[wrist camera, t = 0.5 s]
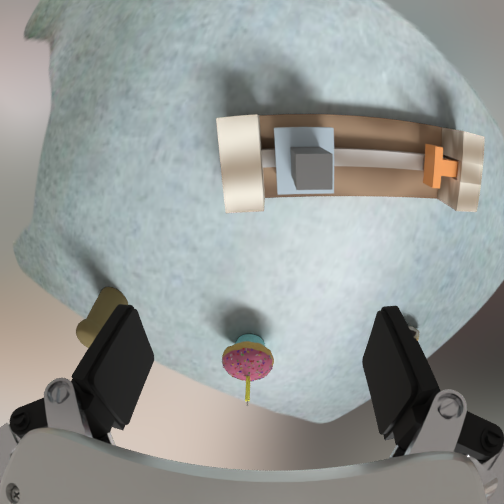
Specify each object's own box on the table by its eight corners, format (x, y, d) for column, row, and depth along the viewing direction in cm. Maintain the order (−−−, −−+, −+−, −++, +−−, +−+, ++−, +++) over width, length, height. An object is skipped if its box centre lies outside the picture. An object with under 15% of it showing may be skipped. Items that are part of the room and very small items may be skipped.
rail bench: (226, 118, 30) (216, 118, 24) (456, 130, 27) (484, 136, 21) (233, 196, 34) (225, 213, 28) (451, 196, 31) (476, 211, 26)
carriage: (273, 127, 28) (274, 129, 19) (326, 126, 28) (350, 130, 19) (276, 185, 31) (279, 213, 23) (326, 184, 31) (348, 212, 22)
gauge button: (425, 143, 26) (435, 146, 23) (460, 149, 25) (471, 152, 23) (422, 182, 28) (432, 188, 26) (457, 185, 27) (467, 191, 25)
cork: (98, 282, 43) (67, 322, 33) (127, 292, 43) (98, 335, 33) (102, 307, 45) (75, 347, 36) (129, 317, 46) (104, 359, 36)
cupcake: (278, 354, 47) (278, 409, 37) (234, 360, 49) (226, 413, 38) (267, 321, 44) (264, 380, 33) (218, 329, 45) (205, 385, 34)
